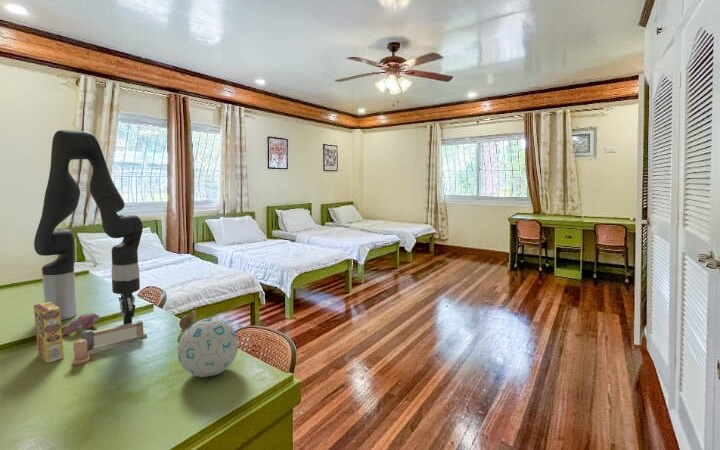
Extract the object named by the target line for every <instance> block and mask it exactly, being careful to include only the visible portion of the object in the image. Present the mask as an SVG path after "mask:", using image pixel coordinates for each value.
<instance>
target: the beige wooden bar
mask: <svg viewBox="0 0 720 450" xmlns="http://www.w3.org/2000/svg"><path fill="white" fill-rule="evenodd" d="M143 332H144V321H142V320H138V321H134V322H133V321H132V323H128V324H119V325H116V326H110V327H106V328H100V329H97V330H92V329H85V330H82V331H81V339H86V340H87V350H90V349H92V348H94V347H96V346H100V345H104V344H108V343H113V342H117V341H121V340H125V339H129V338H133V337H139V336H143V335H144V334H143Z"/></svg>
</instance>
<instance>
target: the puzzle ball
mask: <svg viewBox="0 0 720 450" xmlns="http://www.w3.org/2000/svg"><path fill="white" fill-rule="evenodd" d="M238 348H239V337H238V336H237V333H236V331H235V329H234V328H233V327H232V326H231V325H230V324H229V323H228V322H226V321H224V320H223V319H218V318H214V317H212V318H203V319H200V320H198V321H195V322H194V325H193V324H192V325H191V326H190V327H189V328H187V330H186V331H185V332H184V334H183V335H182V337H181V339H180V342H179V344H178V346H177V355H178V360H179V362H180V365H181V367H182V368H183V369H184V370H185V371H186V372H188V373H189V374H191V375H193V376H195V377H198V378H208V377H207V376H210V377H213V376H212V375H215V376H218V375H219V374H221V373H224V372H225V370H226V369H228V368H229V367H230V366H231V365H232V364H233V362H234V360H235V358H236V357H237V356H236V355H237V353H238Z"/></svg>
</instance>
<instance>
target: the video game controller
mask: <svg viewBox="0 0 720 450" xmlns="http://www.w3.org/2000/svg"><path fill="white" fill-rule="evenodd" d="M99 319H100V315H98V314H96V313H93V312H91V313H86V314H85V313H84V314H81V315H80V316H79V317H77V318H74V319H73V320H72V321H71V322H70V323H69V324H68V325H67V326H65V327H64V328H63V330H62V335H64V336H67V335H71V334H72V333H74V332H76V333H78V334H80V333H82V332H83V331H84V329H85V330H90V329H91V328H92V326H93V325H94V324H96V323H97V322H98V321H99Z"/></svg>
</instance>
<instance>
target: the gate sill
mask: <svg viewBox="0 0 720 450" xmlns="http://www.w3.org/2000/svg"><path fill="white" fill-rule="evenodd" d="M143 334H144V335H143V336H139V337H133V338H129V339H125V340H121V341H117V342H113V343H108V344H104V345H100V346H96V347H94V348H92V349H90V350H87V352H88V355H89V356H91V355H93V354H96V353H100V352H103V351H106V350H110V349H113V348H116V347H118V346H122V345H124V344H128V343H131V342H135V341H138V340H142V339H144V338H147V337H148V333H146V332H144V331H143Z"/></svg>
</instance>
